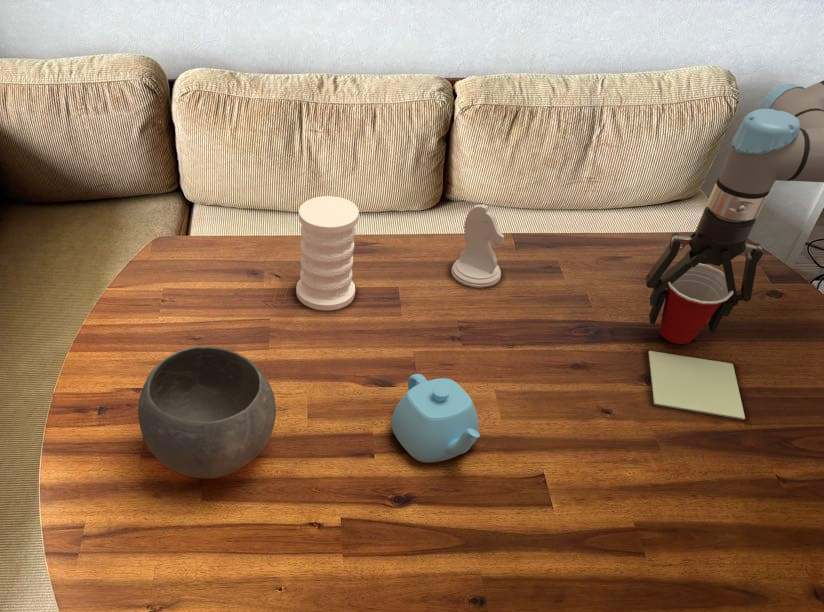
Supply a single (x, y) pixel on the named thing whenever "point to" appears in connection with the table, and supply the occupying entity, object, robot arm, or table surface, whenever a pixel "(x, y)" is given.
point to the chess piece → (479, 250)
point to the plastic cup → (692, 302)
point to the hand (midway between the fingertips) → (681, 323)
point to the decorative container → (327, 252)
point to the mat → (695, 385)
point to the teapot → (435, 419)
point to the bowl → (206, 411)
